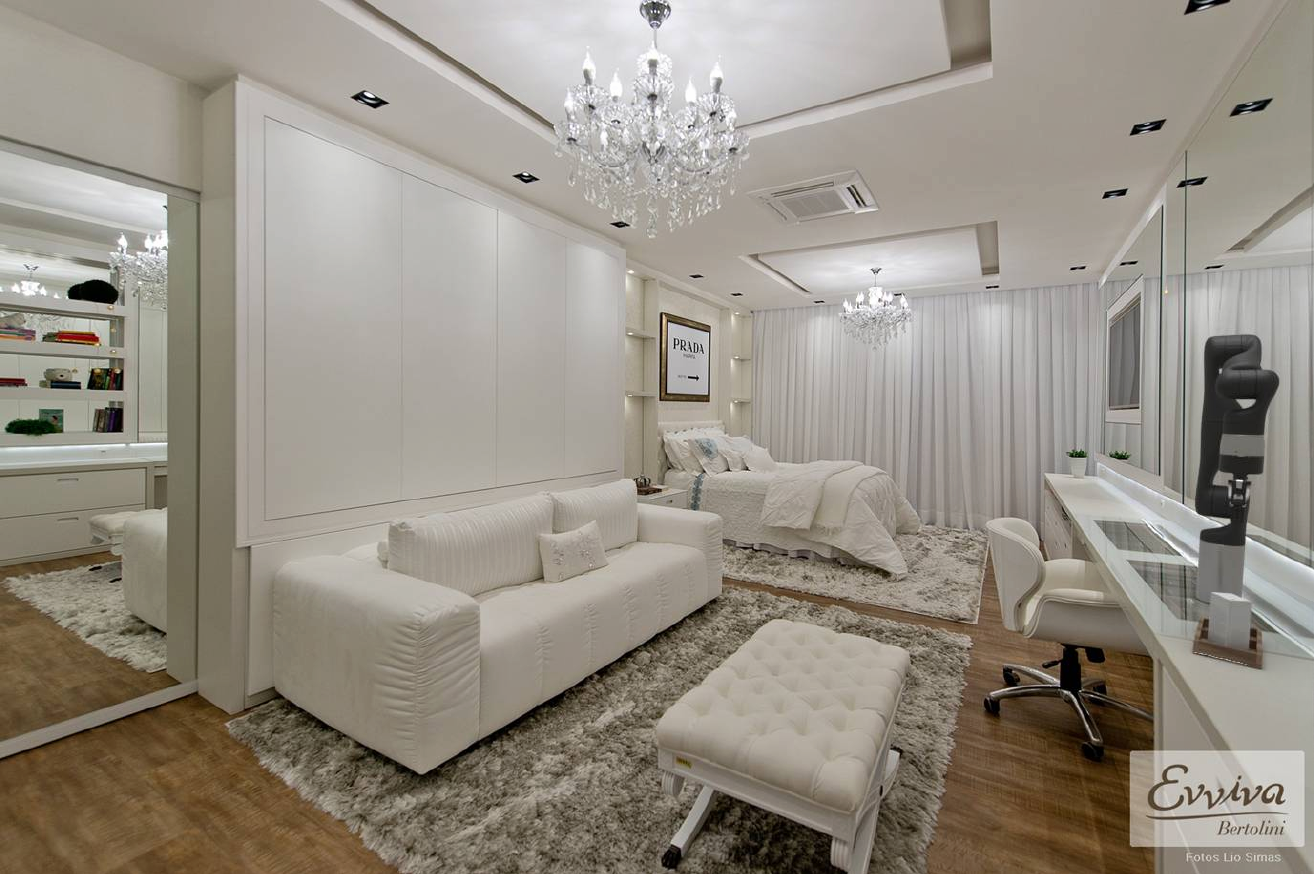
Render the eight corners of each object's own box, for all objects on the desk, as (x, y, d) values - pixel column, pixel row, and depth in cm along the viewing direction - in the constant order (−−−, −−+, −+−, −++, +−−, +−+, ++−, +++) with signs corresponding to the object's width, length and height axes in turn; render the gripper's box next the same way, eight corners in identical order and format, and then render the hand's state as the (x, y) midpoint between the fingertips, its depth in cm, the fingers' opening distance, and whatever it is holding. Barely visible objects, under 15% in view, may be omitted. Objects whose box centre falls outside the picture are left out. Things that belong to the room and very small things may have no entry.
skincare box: (1249, 655, 125) (1253, 601, 125) (1226, 653, 126) (1230, 600, 125) (1228, 644, 131) (1231, 592, 131) (1206, 642, 132) (1209, 591, 131)
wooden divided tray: (1199, 628, 143) (1200, 609, 142) (1260, 641, 135) (1262, 621, 135) (1192, 653, 129) (1194, 631, 128) (1261, 669, 121) (1262, 646, 121)
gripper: (1221, 450, 145) (1216, 514, 146) (1218, 454, 135) (1213, 521, 136) (1264, 452, 139) (1259, 518, 140) (1264, 456, 130) (1259, 527, 131)
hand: (1237, 520), depth 138 cm, fingers open, 8 cm apart
